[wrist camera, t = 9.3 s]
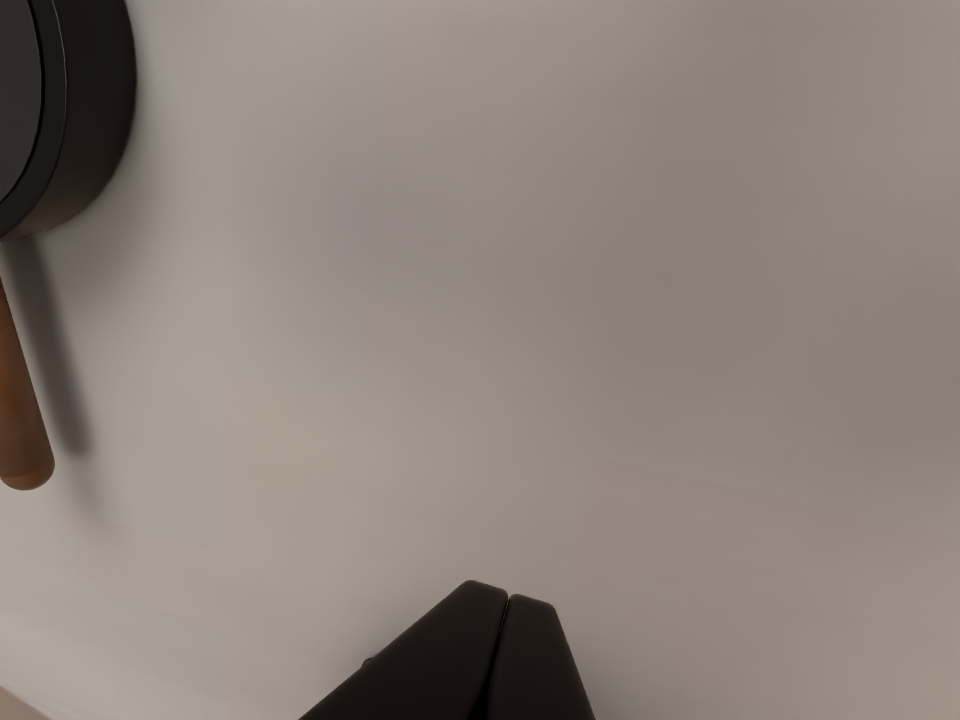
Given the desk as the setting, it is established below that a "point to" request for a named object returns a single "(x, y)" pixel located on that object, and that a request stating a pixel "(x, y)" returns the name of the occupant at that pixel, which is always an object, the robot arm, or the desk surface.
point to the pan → (53, 165)
